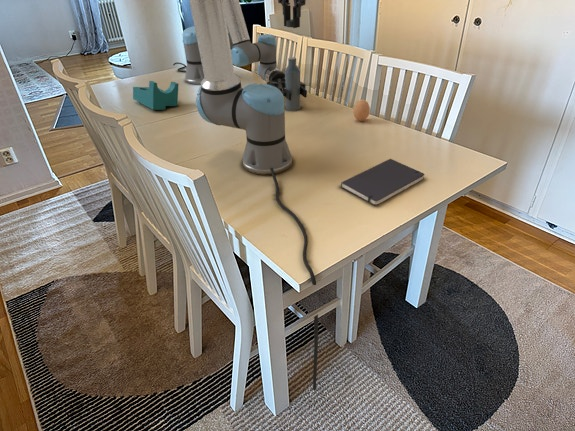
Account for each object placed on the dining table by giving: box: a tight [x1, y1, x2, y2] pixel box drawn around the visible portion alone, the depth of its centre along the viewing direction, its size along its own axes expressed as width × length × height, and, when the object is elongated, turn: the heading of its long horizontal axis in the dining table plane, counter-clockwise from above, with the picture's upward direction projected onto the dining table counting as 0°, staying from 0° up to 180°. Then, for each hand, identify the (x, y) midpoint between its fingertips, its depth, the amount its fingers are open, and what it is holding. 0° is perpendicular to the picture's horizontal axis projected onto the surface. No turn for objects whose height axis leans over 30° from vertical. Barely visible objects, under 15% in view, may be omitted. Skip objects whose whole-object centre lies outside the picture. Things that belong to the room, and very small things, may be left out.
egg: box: [352, 99, 371, 122], centre depth 149 cm, size 6×6×8 cm
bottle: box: [284, 56, 301, 112], centre depth 158 cm, size 6×6×20 cm
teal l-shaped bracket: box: [132, 80, 179, 111], centre depth 168 cm, size 18×11×10 cm, turn 43°
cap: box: [285, 18, 293, 28], centre depth 145 cm, size 4×4×2 cm
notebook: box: [340, 158, 425, 206], centre depth 114 cm, size 13×2×21 cm
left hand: (298, 95), depth 156 cm, fingers closed on bottle, 6 cm apart
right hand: (291, 26), depth 146 cm, fingers closed on cap, 4 cm apart
